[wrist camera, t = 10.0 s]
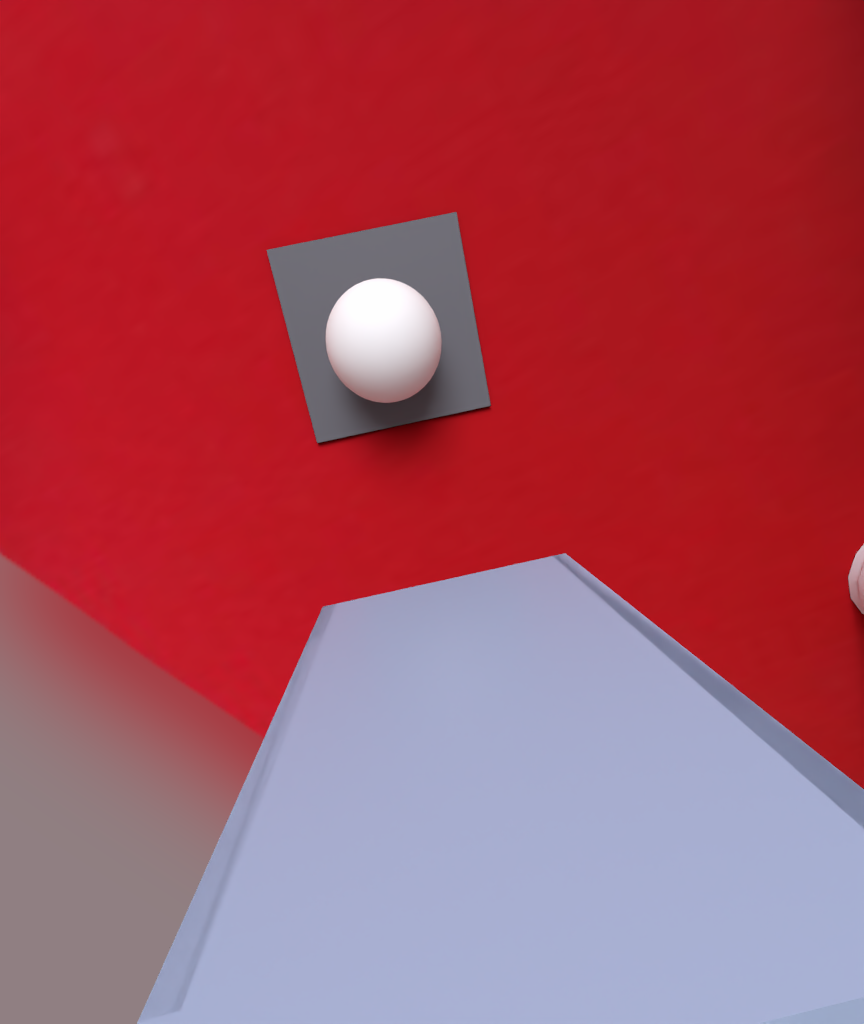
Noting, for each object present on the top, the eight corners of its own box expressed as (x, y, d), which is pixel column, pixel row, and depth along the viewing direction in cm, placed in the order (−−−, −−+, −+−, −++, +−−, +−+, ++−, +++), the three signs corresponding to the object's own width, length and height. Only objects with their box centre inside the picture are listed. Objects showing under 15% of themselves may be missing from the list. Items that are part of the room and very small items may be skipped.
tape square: (267, 251, 20) (266, 249, 19) (455, 214, 20) (456, 212, 20) (318, 442, 21) (317, 442, 21) (489, 405, 22) (490, 405, 21)
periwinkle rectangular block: (322, 606, 11) (59, 1197, 3) (564, 553, 11) (1062, 947, 3) (401, 884, 13) (398, 1728, 5) (606, 836, 13) (968, 1569, 5)
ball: (303, 300, 15) (344, 430, 18) (441, 270, 15) (460, 404, 18) (313, 286, 19) (345, 394, 22) (421, 263, 19) (438, 372, 22)
